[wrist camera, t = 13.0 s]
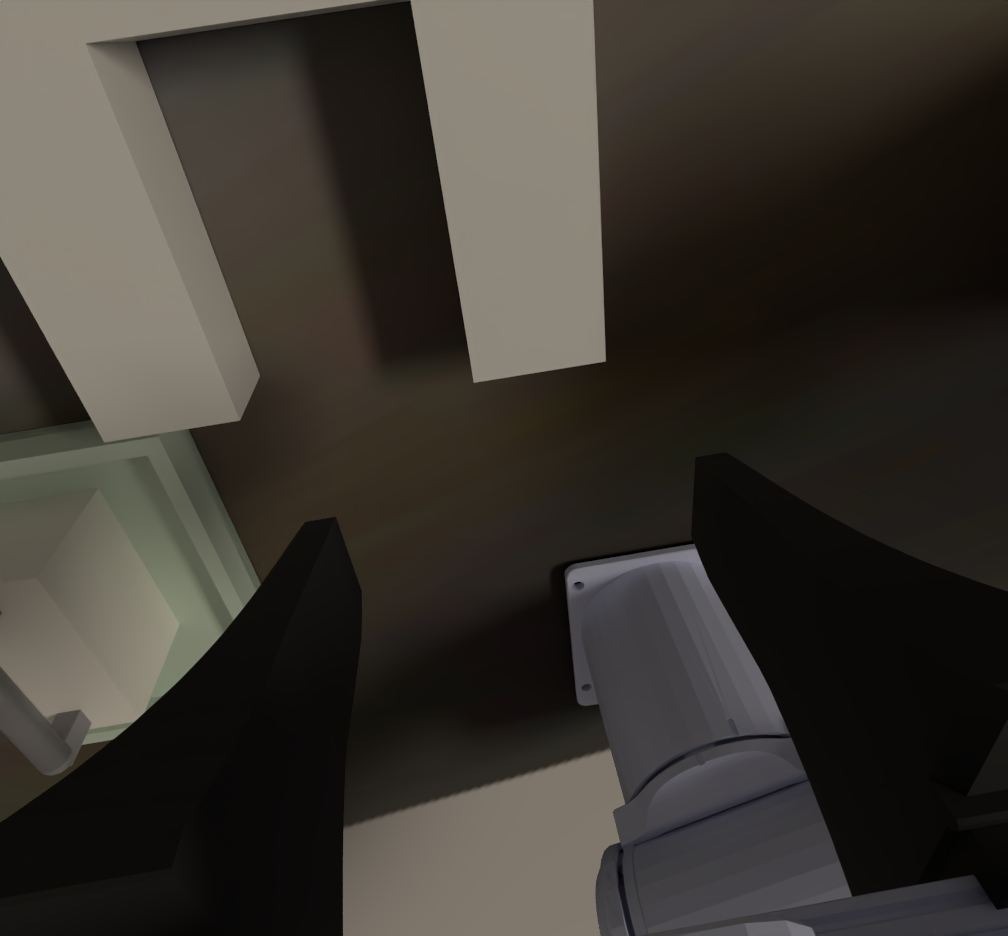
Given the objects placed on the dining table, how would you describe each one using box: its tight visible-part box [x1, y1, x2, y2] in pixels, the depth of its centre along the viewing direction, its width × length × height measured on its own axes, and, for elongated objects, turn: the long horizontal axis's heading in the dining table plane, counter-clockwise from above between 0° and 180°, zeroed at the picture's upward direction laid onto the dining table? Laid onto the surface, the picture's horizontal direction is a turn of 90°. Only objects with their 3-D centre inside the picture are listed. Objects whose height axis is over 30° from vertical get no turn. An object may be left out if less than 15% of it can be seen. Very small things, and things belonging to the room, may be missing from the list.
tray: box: [0, 420, 261, 745], centre depth 25 cm, size 14×11×2 cm
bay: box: [0, 0, 606, 442], centre depth 17 cm, size 12×15×3 cm
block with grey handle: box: [0, 488, 179, 775], centre depth 22 cm, size 7×4×6 cm, turn 7°
